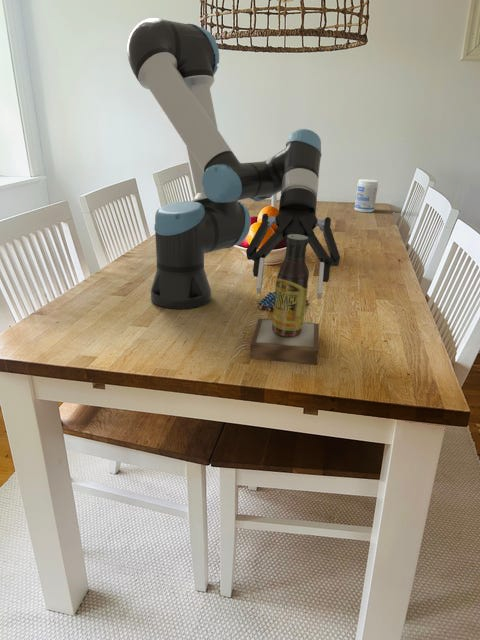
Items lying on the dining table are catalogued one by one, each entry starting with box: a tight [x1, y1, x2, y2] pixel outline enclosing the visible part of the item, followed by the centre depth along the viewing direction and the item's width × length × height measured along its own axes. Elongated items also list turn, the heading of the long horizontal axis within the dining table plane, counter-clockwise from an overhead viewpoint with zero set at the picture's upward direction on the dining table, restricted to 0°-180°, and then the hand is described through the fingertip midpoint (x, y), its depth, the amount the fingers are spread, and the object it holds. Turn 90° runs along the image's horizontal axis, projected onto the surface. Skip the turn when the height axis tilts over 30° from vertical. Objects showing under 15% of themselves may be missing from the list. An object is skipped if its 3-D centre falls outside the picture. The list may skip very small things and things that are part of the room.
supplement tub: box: [354, 178, 379, 213], centre depth 238 cm, size 10×10×15 cm
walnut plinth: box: [249, 318, 320, 366], centre depth 100 cm, size 13×13×3 cm
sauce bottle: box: [272, 234, 310, 337], centre depth 95 cm, size 7×6×20 cm
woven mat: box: [257, 291, 310, 312], centre depth 122 cm, size 10×11×2 cm
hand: (288, 293), depth 93 cm, fingers open, 11 cm apart
